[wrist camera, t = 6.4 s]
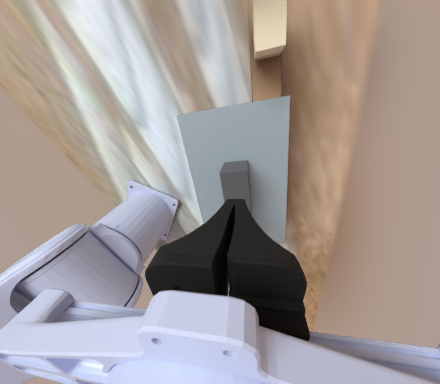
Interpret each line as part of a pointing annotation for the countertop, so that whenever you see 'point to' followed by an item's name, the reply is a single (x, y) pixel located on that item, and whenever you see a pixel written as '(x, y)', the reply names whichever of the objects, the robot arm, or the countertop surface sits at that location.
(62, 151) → the countertop surface
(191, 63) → the countertop surface
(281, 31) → the block
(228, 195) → the lid
